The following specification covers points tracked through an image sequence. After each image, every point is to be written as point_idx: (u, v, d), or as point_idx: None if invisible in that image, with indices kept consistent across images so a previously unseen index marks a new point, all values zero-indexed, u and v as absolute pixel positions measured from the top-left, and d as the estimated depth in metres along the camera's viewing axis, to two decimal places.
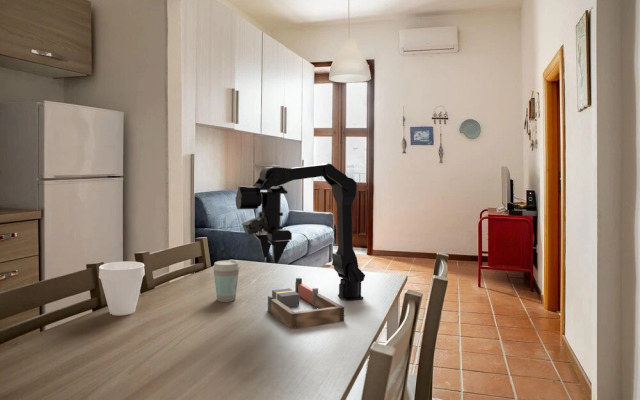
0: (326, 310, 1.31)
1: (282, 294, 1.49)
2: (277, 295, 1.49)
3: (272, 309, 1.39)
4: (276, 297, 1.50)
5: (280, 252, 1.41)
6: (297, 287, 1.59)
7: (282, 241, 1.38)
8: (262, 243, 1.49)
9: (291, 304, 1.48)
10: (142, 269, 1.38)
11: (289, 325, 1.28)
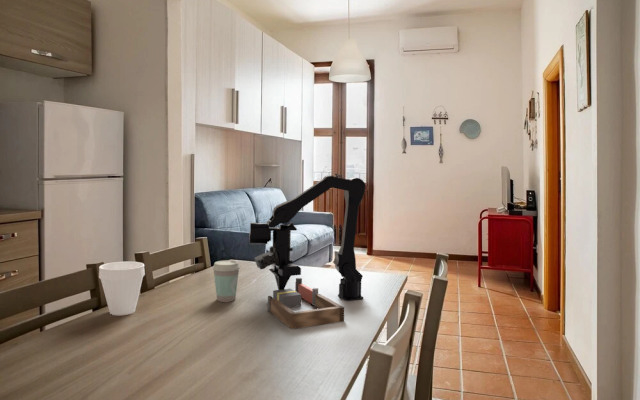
0: (326, 310, 1.31)
1: (284, 294, 1.48)
2: (279, 295, 1.48)
3: (272, 309, 1.39)
4: (278, 297, 1.49)
5: (284, 282, 1.54)
6: (297, 287, 1.59)
7: None
8: None
9: (293, 304, 1.47)
10: (142, 269, 1.38)
11: (289, 325, 1.28)
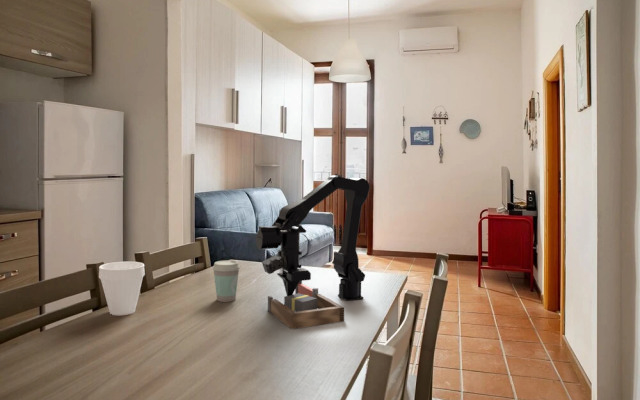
0: (326, 310, 1.31)
1: (300, 300, 1.42)
2: (294, 301, 1.42)
3: (272, 309, 1.39)
4: (292, 303, 1.43)
5: (293, 288, 1.48)
6: (297, 287, 1.59)
7: None
8: None
9: (310, 309, 1.43)
10: (142, 269, 1.38)
11: (289, 325, 1.28)
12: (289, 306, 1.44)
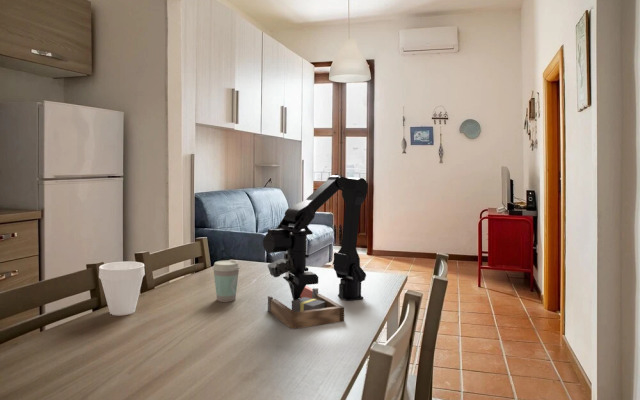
0: (326, 310, 1.31)
1: (310, 304, 1.38)
2: (304, 305, 1.38)
3: (272, 309, 1.39)
4: (301, 308, 1.39)
5: (300, 291, 1.43)
6: None
7: None
8: None
9: None
10: (142, 269, 1.38)
11: (289, 325, 1.28)
12: (297, 311, 1.40)
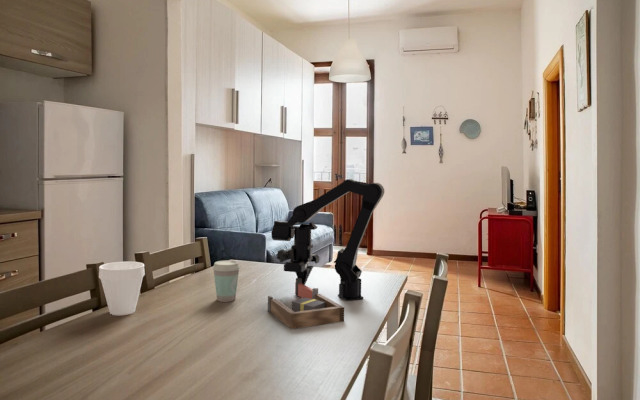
0: (326, 310, 1.31)
1: (310, 304, 1.38)
2: (304, 306, 1.38)
3: (272, 309, 1.39)
4: (301, 308, 1.39)
5: (303, 279, 1.61)
6: (297, 287, 1.59)
7: None
8: None
9: None
10: (142, 269, 1.38)
11: (289, 325, 1.28)
12: (297, 311, 1.40)
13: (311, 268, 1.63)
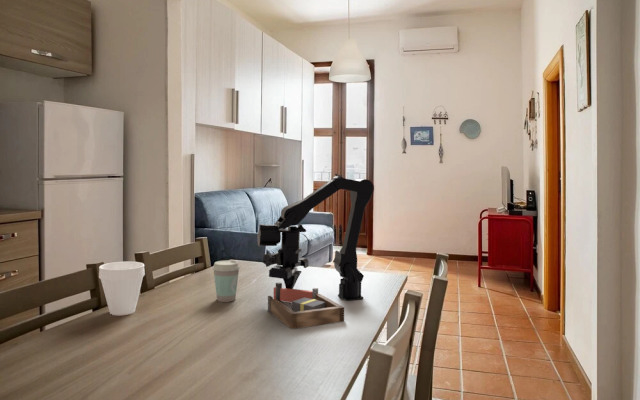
0: (326, 310, 1.31)
1: (310, 304, 1.38)
2: (304, 306, 1.38)
3: (272, 309, 1.39)
4: (301, 308, 1.39)
5: (290, 285, 1.52)
6: (279, 292, 1.52)
7: None
8: None
9: None
10: (142, 269, 1.38)
11: (289, 325, 1.28)
12: (297, 311, 1.40)
13: (299, 273, 1.53)
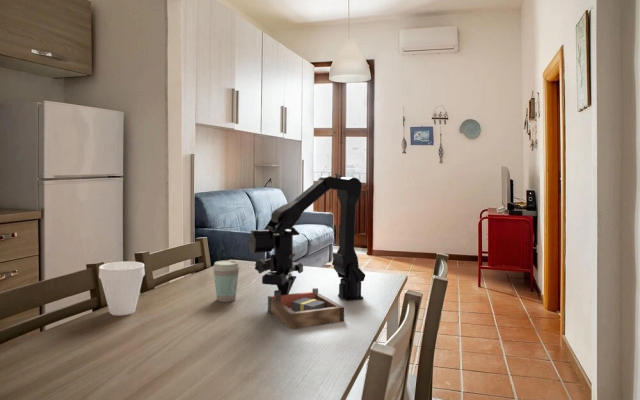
0: (326, 310, 1.31)
1: (310, 304, 1.38)
2: (304, 306, 1.38)
3: (272, 309, 1.39)
4: (301, 308, 1.39)
5: (285, 291, 1.45)
6: (280, 300, 1.43)
7: None
8: None
9: None
10: (142, 269, 1.38)
11: (289, 325, 1.28)
12: (297, 311, 1.40)
13: (293, 279, 1.47)
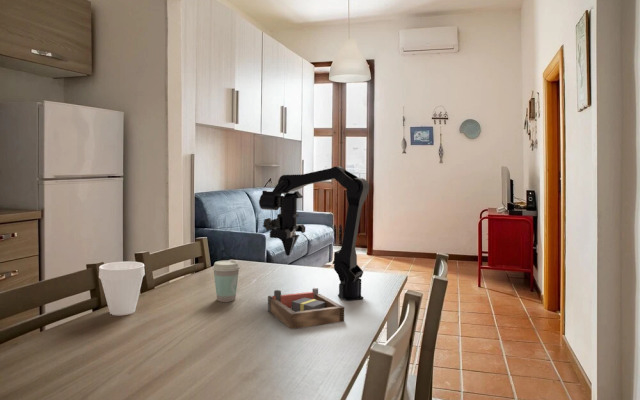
0: (326, 310, 1.31)
1: (310, 304, 1.38)
2: (304, 306, 1.38)
3: (272, 309, 1.39)
4: (301, 308, 1.39)
5: (289, 247, 1.66)
6: (280, 300, 1.43)
7: None
8: None
9: None
10: (142, 269, 1.38)
11: (289, 325, 1.28)
12: (297, 311, 1.40)
13: (297, 236, 1.67)
